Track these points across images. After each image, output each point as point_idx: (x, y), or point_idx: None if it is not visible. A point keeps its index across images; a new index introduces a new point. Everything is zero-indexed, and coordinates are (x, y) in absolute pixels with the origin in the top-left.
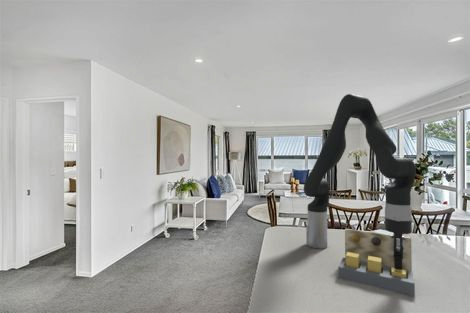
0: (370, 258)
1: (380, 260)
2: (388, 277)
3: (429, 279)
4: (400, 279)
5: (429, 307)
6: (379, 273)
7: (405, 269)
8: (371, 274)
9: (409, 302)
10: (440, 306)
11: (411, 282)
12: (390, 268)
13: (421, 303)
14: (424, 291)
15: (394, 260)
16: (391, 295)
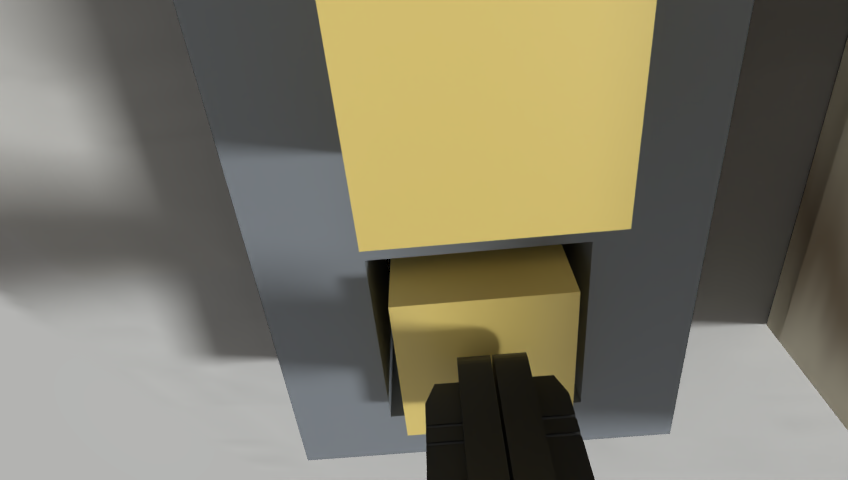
0: (453, 15)
1: (461, 231)
2: (256, 257)
3: (784, 425)
4: (309, 363)
5: (217, 431)
6: (315, 139)
7: (826, 330)
8: (187, 28)
9: (176, 334)
10: (294, 473)
11: (313, 440)
12: (632, 244)
13: (237, 395)
14: None
15: (463, 467)
16: (181, 210)
